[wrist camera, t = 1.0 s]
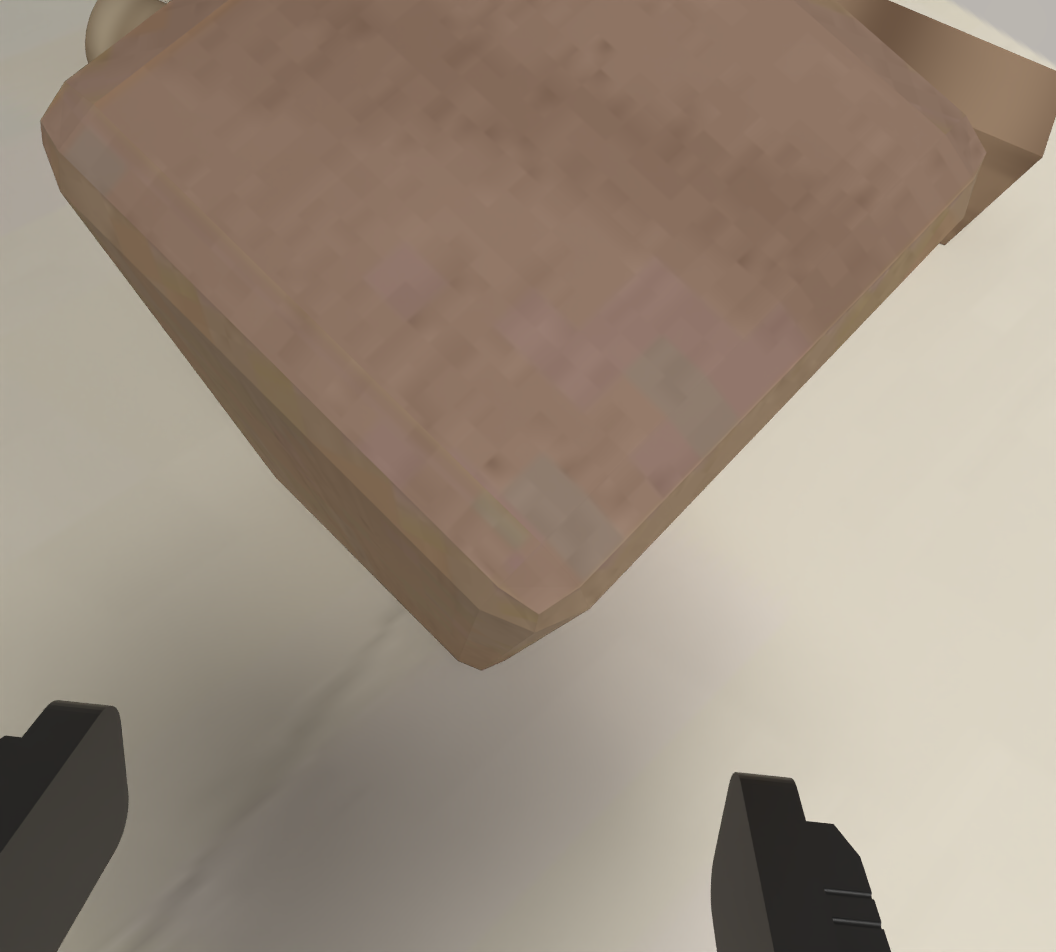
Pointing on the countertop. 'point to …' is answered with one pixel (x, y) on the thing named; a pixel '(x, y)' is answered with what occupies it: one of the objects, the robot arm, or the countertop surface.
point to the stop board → (973, 91)
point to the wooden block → (507, 257)
